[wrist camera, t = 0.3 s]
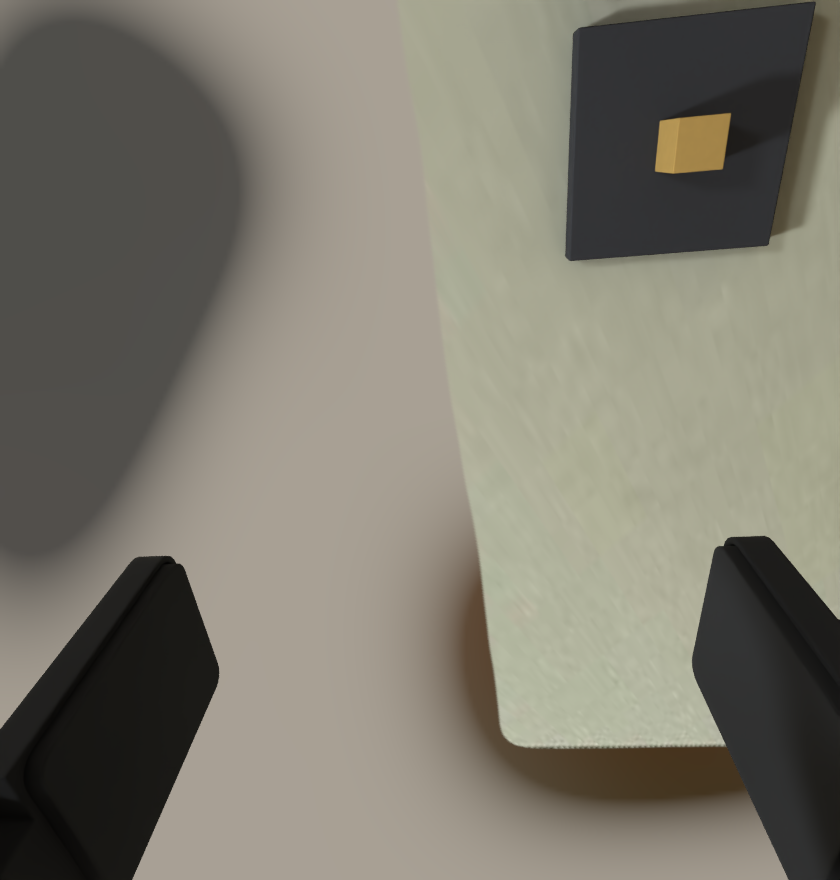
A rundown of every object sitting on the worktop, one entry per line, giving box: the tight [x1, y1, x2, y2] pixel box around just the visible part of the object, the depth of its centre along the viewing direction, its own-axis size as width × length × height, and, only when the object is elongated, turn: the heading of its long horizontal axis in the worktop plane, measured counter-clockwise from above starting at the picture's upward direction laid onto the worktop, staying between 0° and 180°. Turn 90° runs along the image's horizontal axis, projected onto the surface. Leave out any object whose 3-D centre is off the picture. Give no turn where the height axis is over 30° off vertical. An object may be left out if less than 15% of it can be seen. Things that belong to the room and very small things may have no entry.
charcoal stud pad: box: [565, 2, 816, 261], centre depth 31 cm, size 12×12×4 cm
